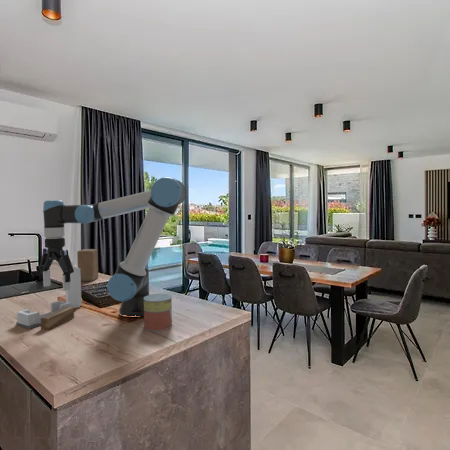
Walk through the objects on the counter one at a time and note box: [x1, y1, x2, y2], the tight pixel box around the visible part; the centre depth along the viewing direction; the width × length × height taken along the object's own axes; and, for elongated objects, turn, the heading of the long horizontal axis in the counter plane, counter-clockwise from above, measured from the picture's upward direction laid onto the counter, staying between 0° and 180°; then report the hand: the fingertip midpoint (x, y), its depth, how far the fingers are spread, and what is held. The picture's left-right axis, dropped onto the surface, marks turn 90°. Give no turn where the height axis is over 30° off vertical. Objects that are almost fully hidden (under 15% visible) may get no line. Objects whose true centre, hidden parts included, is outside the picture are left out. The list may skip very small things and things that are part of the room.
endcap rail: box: [15, 300, 71, 330], centre depth 144 cm, size 10×19×6 cm, turn 150°
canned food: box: [143, 293, 173, 332], centre depth 135 cm, size 11×11×12 cm
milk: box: [64, 261, 83, 309], centre depth 162 cm, size 6×6×22 cm
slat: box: [40, 307, 75, 331], centre depth 139 cm, size 4×15×5 cm, turn 166°
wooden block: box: [76, 248, 99, 282], centre depth 220 cm, size 10×10×20 cm
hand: (56, 288), depth 140 cm, fingers open, 13 cm apart
